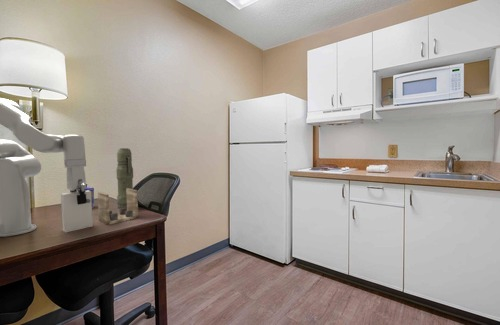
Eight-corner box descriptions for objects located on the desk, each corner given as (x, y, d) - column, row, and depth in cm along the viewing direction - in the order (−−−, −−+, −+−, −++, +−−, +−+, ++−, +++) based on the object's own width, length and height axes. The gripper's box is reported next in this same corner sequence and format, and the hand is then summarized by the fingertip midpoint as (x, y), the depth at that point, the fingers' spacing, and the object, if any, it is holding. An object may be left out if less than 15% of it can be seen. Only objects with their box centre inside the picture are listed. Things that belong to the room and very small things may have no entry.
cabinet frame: (106, 225, 109) (105, 194, 108) (99, 220, 115) (97, 192, 114) (138, 217, 120) (137, 190, 119) (129, 214, 126) (128, 188, 125)
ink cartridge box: (77, 211, 132) (75, 185, 131) (71, 210, 134) (70, 185, 133) (95, 207, 141) (94, 183, 140) (89, 206, 143) (88, 182, 142)
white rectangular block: (65, 233, 99) (64, 195, 98) (62, 230, 102) (60, 193, 101) (93, 226, 106) (91, 191, 105) (89, 224, 110) (88, 190, 109)
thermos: (126, 204, 149) (124, 148, 146) (139, 206, 143) (137, 148, 141) (112, 207, 141) (110, 148, 138) (125, 209, 135) (123, 148, 133)
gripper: (59, 163, 105) (62, 201, 107) (70, 164, 94) (74, 207, 95) (79, 162, 111) (82, 198, 112) (92, 163, 100) (95, 203, 101)
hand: (78, 202), depth 104 cm, fingers open, 9 cm apart
